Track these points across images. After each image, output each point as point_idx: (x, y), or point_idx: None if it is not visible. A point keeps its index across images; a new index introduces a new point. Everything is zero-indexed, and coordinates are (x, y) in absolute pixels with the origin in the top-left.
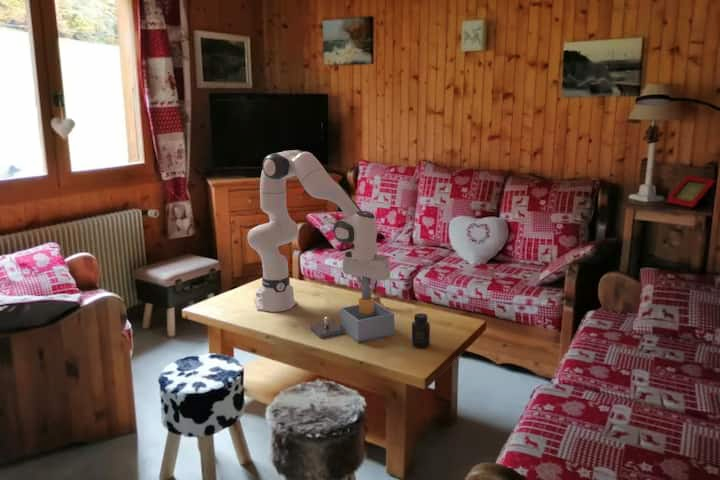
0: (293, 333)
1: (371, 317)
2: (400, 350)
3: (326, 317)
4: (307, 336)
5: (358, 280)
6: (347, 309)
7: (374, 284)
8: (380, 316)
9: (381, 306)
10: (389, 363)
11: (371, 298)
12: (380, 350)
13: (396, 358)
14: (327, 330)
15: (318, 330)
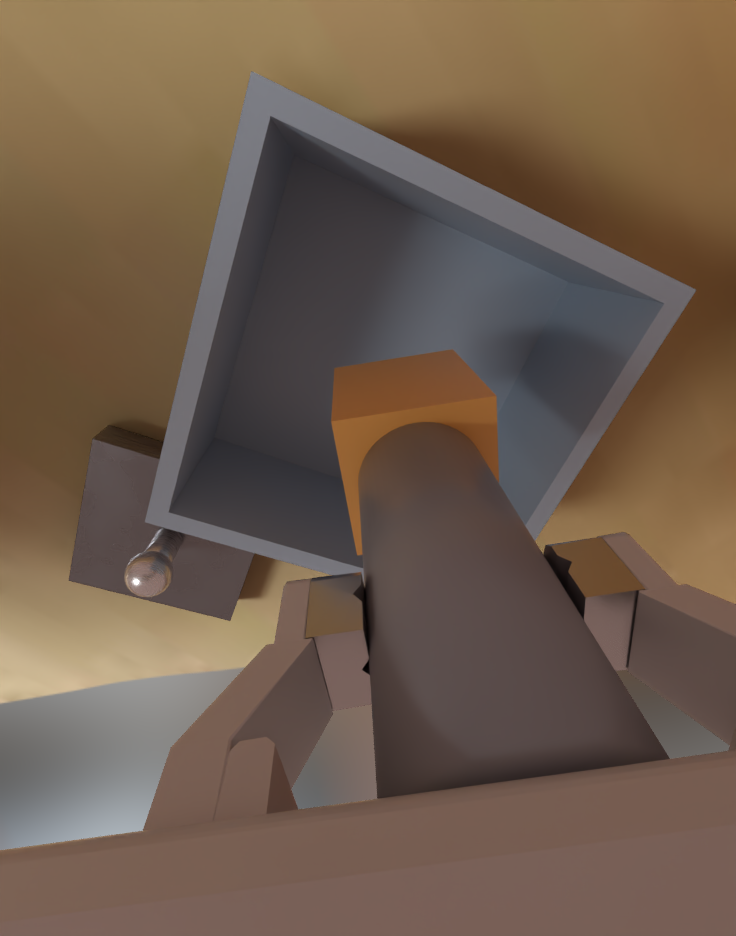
0: (70, 640)
1: (280, 182)
2: (716, 439)
3: (149, 592)
4: (159, 620)
5: (304, 764)
6: (187, 458)
7: (664, 575)
8: (597, 440)
9: (451, 191)
10: (715, 579)
11: (485, 450)
12: (609, 507)
13: (730, 523)
14: (219, 569)
15: (179, 599)
